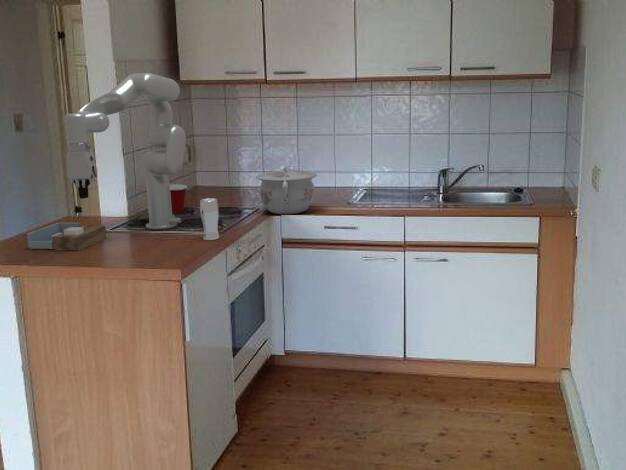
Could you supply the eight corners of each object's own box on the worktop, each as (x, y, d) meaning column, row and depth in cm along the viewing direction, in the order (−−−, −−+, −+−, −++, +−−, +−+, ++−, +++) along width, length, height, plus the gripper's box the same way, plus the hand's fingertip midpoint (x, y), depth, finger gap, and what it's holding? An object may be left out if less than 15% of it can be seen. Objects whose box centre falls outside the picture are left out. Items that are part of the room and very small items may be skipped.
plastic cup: (171, 214, 317) (169, 188, 314) (161, 211, 325) (159, 186, 322) (193, 211, 323) (191, 185, 320) (182, 208, 331) (180, 183, 329)
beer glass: (211, 235, 270) (209, 197, 267) (224, 237, 266) (221, 199, 263) (198, 239, 265) (195, 200, 262) (210, 241, 261) (208, 201, 258)
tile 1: (59, 232, 273) (59, 237, 273) (51, 235, 268) (52, 240, 268) (70, 233, 271) (70, 237, 272) (62, 235, 267) (63, 240, 267)
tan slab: (106, 238, 271) (105, 226, 270) (77, 250, 253) (76, 237, 251) (83, 237, 274) (82, 225, 273) (53, 250, 255) (52, 236, 254)
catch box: (82, 237, 274) (81, 223, 273) (52, 250, 255) (50, 234, 254) (60, 237, 276) (58, 222, 275) (28, 249, 258) (26, 233, 256)
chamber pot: (285, 204, 332) (283, 161, 328) (330, 209, 315) (329, 164, 310) (243, 214, 311) (241, 168, 307) (290, 220, 294) (288, 172, 289)
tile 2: (83, 232, 260) (83, 227, 259) (76, 235, 255) (75, 230, 254) (71, 232, 261) (71, 227, 260) (64, 235, 256) (63, 229, 256)
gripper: (102, 146, 253) (107, 196, 257) (67, 147, 257) (72, 196, 261) (91, 148, 246) (96, 200, 250) (54, 149, 250) (60, 199, 254)
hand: (84, 197), depth 255 cm, fingers closed
